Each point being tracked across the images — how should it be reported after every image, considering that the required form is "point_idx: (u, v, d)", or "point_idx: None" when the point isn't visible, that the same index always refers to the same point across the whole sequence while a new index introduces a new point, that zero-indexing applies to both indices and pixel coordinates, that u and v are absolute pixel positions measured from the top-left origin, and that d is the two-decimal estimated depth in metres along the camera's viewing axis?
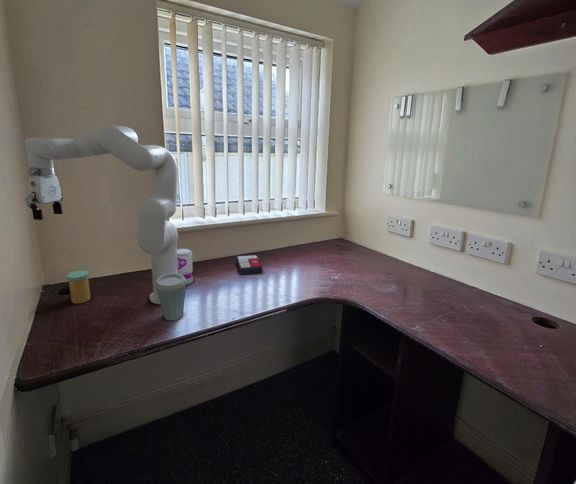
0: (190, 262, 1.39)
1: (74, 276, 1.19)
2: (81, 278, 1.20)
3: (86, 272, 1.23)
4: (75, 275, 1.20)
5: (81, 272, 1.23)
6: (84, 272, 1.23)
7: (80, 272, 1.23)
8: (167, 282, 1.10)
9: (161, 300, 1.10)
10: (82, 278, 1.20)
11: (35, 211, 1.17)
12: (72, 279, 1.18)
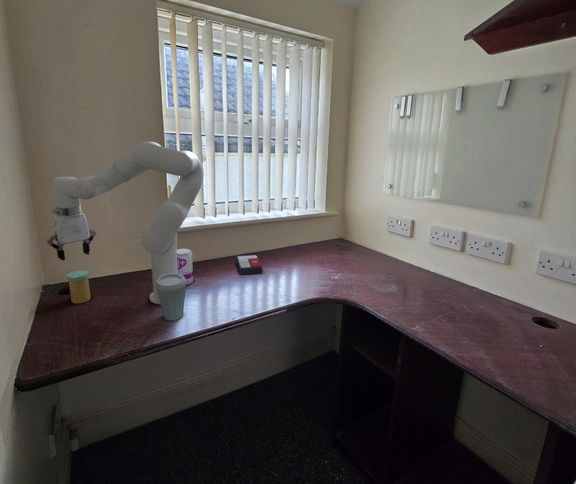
0: (190, 262, 1.39)
1: (74, 276, 1.19)
2: (81, 278, 1.20)
3: (86, 272, 1.23)
4: (75, 275, 1.20)
5: (81, 272, 1.23)
6: (84, 272, 1.23)
7: (80, 272, 1.23)
8: (167, 282, 1.10)
9: (161, 300, 1.10)
10: (82, 278, 1.20)
11: (58, 251, 1.15)
12: (72, 279, 1.18)
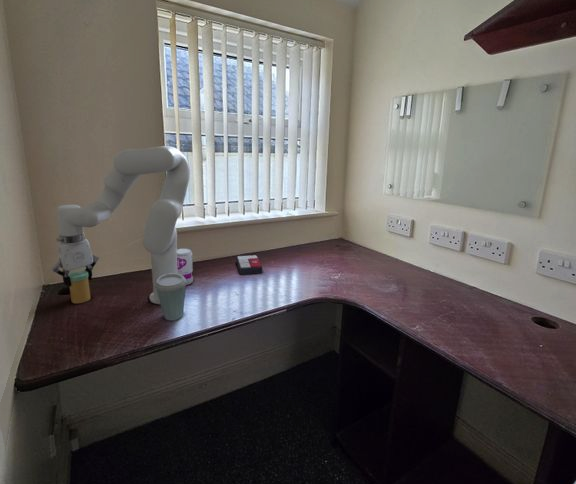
0: (190, 262, 1.39)
1: (74, 276, 1.19)
2: (81, 278, 1.20)
3: (86, 272, 1.23)
4: (75, 275, 1.20)
5: (81, 272, 1.23)
6: (84, 272, 1.23)
7: (80, 272, 1.23)
8: (167, 282, 1.10)
9: (161, 300, 1.10)
10: (82, 278, 1.20)
11: (64, 278, 1.18)
12: (72, 279, 1.18)
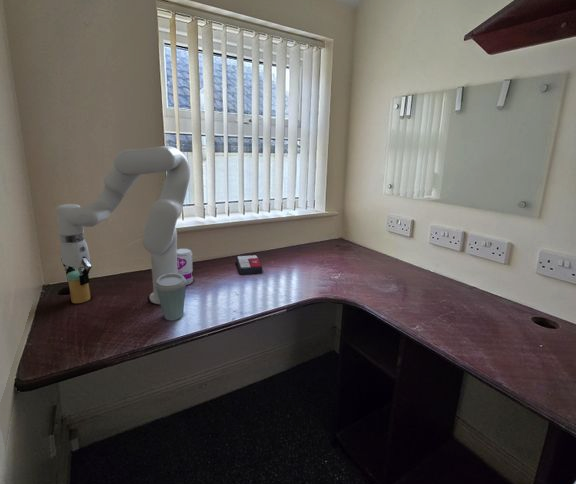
0: (190, 262, 1.39)
1: None
2: None
3: (75, 271, 1.23)
4: None
5: (74, 272, 1.22)
6: (74, 271, 1.23)
7: (73, 273, 1.21)
8: (167, 282, 1.10)
9: (161, 300, 1.10)
10: None
11: (86, 276, 1.20)
12: None
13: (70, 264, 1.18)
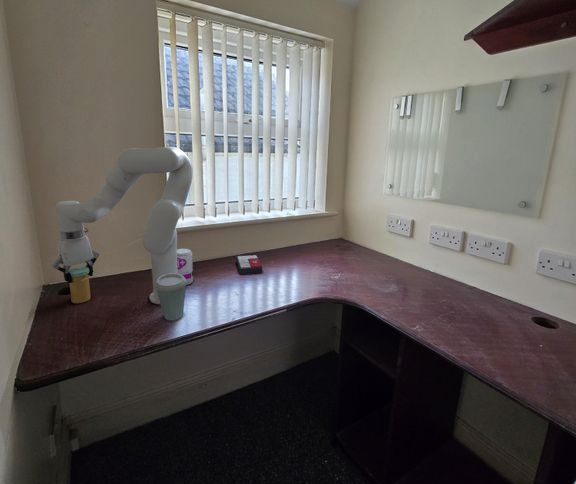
0: (190, 262, 1.39)
1: (81, 267, 1.23)
2: None
3: (69, 271, 1.20)
4: (80, 268, 1.23)
5: (74, 271, 1.20)
6: (71, 271, 1.20)
7: (75, 271, 1.20)
8: (167, 282, 1.10)
9: (161, 300, 1.10)
10: None
11: None
12: None
13: (80, 260, 1.19)
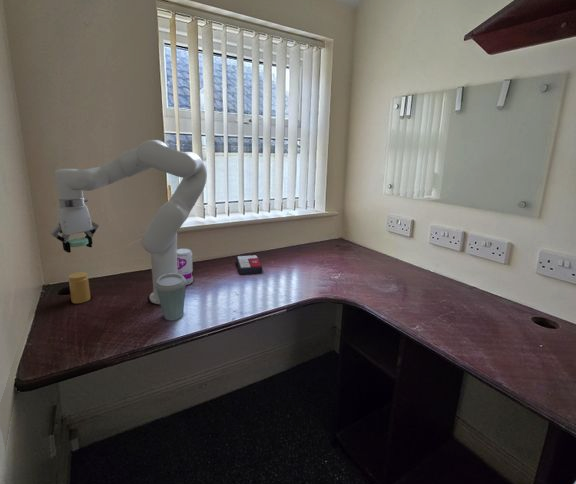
0: (190, 262, 1.39)
1: (80, 238, 1.22)
2: None
3: (68, 241, 1.18)
4: (79, 239, 1.21)
5: (73, 241, 1.18)
6: (70, 241, 1.18)
7: (74, 241, 1.18)
8: (167, 282, 1.10)
9: (161, 300, 1.10)
10: None
11: None
12: None
13: (79, 229, 1.17)
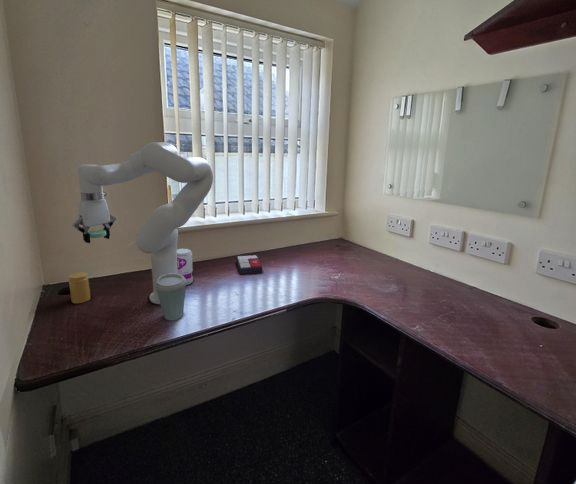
0: (190, 262, 1.39)
1: (99, 230, 1.29)
2: None
3: (88, 232, 1.25)
4: (98, 230, 1.28)
5: (93, 232, 1.26)
6: (90, 232, 1.25)
7: (93, 232, 1.26)
8: (167, 282, 1.10)
9: (161, 300, 1.10)
10: None
11: None
12: None
13: (98, 222, 1.25)
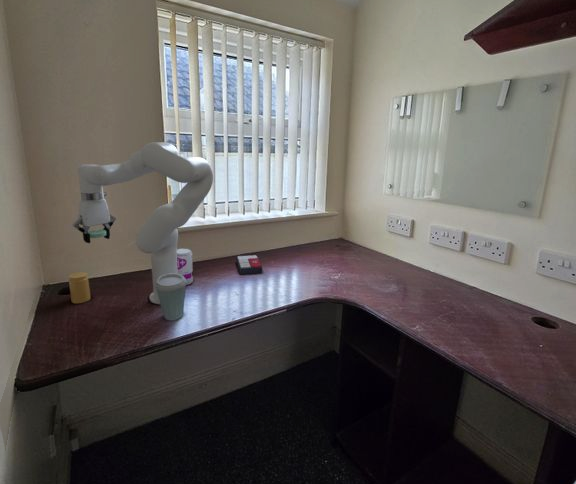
0: (190, 262, 1.39)
1: (99, 230, 1.29)
2: None
3: (88, 232, 1.25)
4: (98, 230, 1.28)
5: (93, 232, 1.26)
6: (90, 232, 1.25)
7: (93, 232, 1.26)
8: (167, 282, 1.10)
9: (161, 300, 1.10)
10: None
11: None
12: None
13: (98, 222, 1.25)
